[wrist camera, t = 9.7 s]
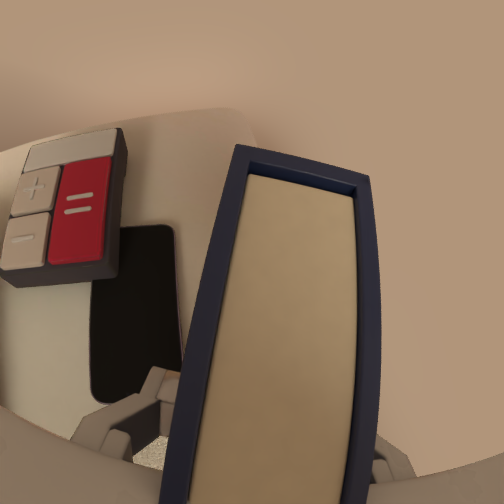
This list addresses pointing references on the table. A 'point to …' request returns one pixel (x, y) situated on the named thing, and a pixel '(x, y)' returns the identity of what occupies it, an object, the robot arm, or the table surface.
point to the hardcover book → (281, 342)
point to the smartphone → (135, 315)
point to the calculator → (67, 212)
